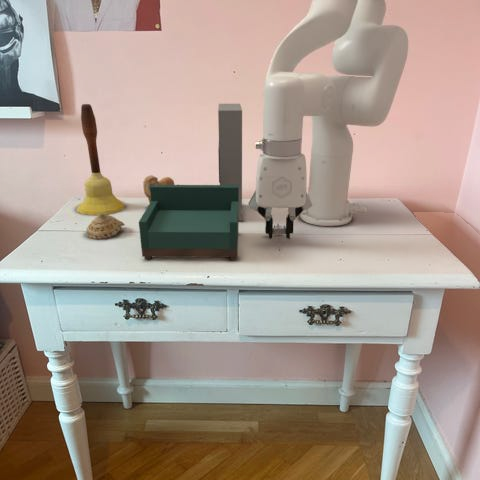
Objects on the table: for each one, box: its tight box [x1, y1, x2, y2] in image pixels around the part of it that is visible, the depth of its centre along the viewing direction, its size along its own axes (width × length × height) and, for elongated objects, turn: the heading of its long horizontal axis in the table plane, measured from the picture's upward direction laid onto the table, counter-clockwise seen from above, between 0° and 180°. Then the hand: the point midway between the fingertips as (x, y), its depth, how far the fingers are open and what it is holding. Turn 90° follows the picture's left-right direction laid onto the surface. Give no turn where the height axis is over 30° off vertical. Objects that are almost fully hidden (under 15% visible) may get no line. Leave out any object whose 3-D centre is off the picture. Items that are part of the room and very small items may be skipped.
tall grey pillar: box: [217, 103, 243, 222], centre depth 116 cm, size 14×6×25 cm, turn 2°
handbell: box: [76, 103, 126, 216], centre depth 120 cm, size 12×12×25 cm
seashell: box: [85, 214, 126, 240], centre depth 109 cm, size 8×6×8 cm
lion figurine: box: [142, 175, 175, 204], centre depth 126 cm, size 15×5×9 cm, turn 162°
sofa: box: [138, 184, 240, 261], centre depth 100 cm, size 19×16×11 cm
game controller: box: [264, 223, 286, 252], centre depth 103 cm, size 6×12×3 cm, turn 15°
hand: (279, 235), depth 103 cm, fingers closed on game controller, 3 cm apart
